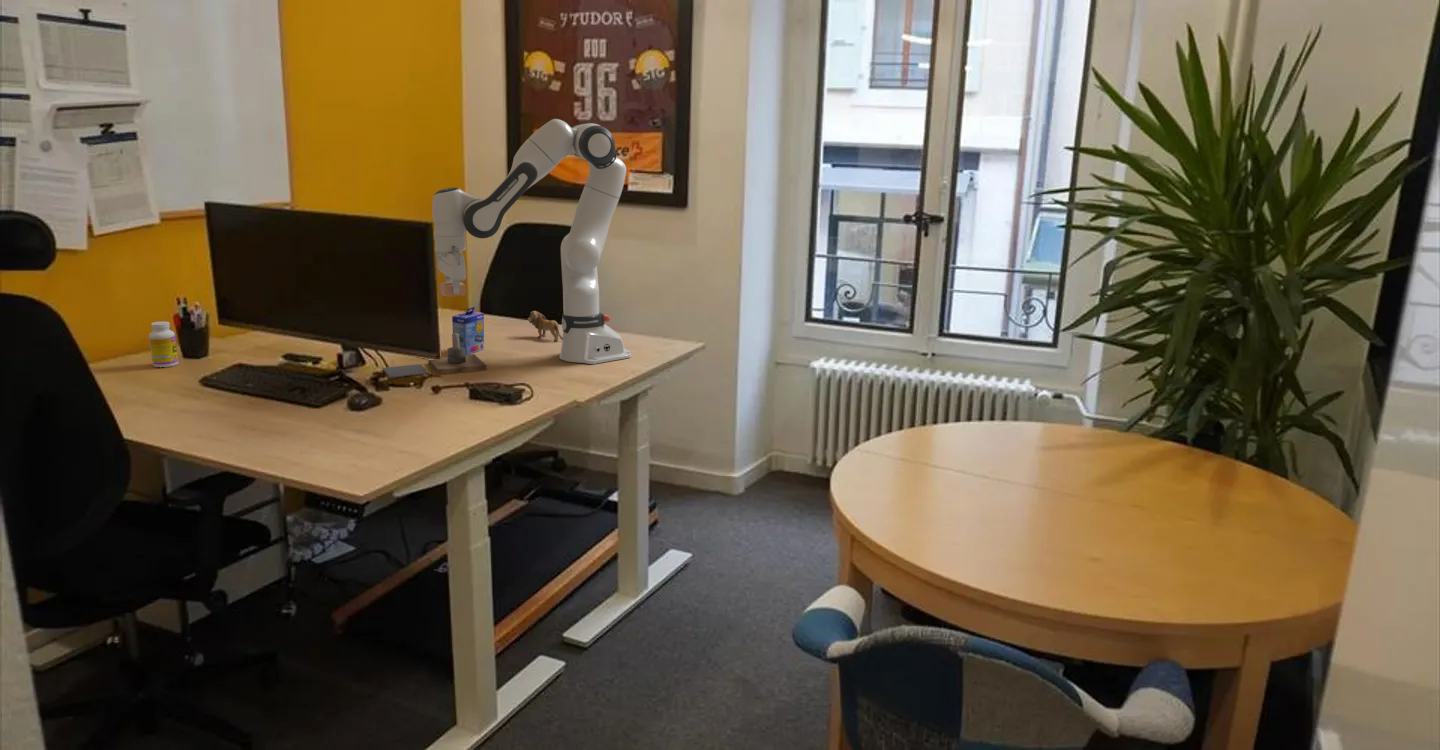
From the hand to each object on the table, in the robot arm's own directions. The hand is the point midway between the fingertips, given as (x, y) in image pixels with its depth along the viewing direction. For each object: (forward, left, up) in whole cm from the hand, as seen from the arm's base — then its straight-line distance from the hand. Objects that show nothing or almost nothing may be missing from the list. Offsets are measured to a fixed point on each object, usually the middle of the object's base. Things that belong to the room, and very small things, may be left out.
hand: (452, 291), depth 282 cm
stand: (0, 0, -23) cm, 23 cm away
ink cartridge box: (-8, -17, -23) cm, 30 cm away
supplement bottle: (+77, -36, -23) cm, 88 cm away
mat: (+15, 0, -23) cm, 27 cm away
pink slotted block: (0, 0, -1) cm, 1 cm away
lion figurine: (-36, -24, -23) cm, 49 cm away
